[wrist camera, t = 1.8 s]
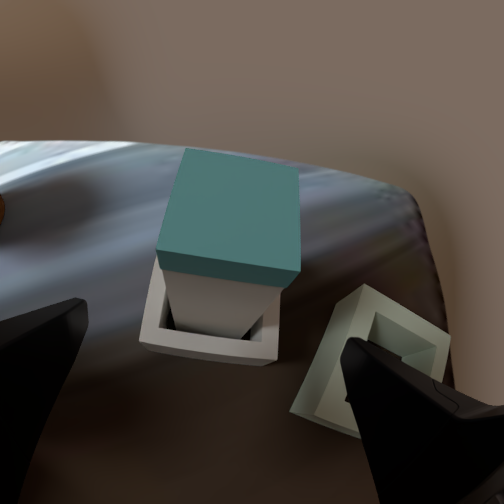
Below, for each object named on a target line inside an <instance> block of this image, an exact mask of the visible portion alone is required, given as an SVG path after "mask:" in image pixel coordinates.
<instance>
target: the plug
mask: <svg viewBox="0 0 504 504" xmlns="http://www.w3.org/2000/svg"><path fill="white" fill-rule="evenodd" d="M156 253H157V258H158V263H159V267H160V269H162V272H163V277H164V282H165V286H166V290H167V295H168V299H169V303H170V307H171V311H172V315H173V319H174V323H175V327H176V331H181V332H187V333H193V334H200V335H207V336H214V337H222V338H230V339H238V340H240V339H241V338H242V337H243V336H244V335H245V333H246V332H247V331H248V330H249V329H250V328H251V327H252V325H253V324H254V323H255V322H256V321H257V320H258V318H259V317H260V316H261V315H262V314H263V313H264V311H265V310H266V309H267V308H268V307H269V306H270V304H271V303H272V302H273V301H274V300H275V299H276V297H277V296H278V295H279V294H280V293H281V291H282V290H283V289H284V288H287V287H288V286H289V285H290V284H291V283H292V281H293V280H294V279H295V278H296V277H297V275H298V274H299V273H300V272H301V245H300V200H299V174H298V168H294V167H290V166H285V165H281V164H276V163H271V162H266V161H261V160H256V159H251V158H245V157H240V156H234V155H228V154H222V153H216V152H209V151H203V150H196V149H189V148H186V149H185V152H184V155H183V158H182V161H181V164H180V167H179V170H178V173H177V176H176V179H175V182H174V186H173V189H172V192H171V195H170V199H169V202H168V206H167V209H166V212H165V216H164V220H163V223H162V227H161V231H160V234H159V238H158V242H157V246H156Z"/></svg>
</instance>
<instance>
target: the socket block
mask: <svg viewBox="0 0 504 504" xmlns="http://www.w3.org/2000/svg"><path fill="white" fill-rule="evenodd" d="M349 337H360V338H362V339H363V340H365V341H367V339H368V340H370V341H372V342H374V343H376V344H378V345H380V346H382V347H384V348H386V349H387V350H389V351H391V352H393V353H395V354H397V355H399V356H401V357H402V360H401V361H402V362H404V363H406V364H408V365H410V366H411V367H413V368H415V369H417V370H419V371H420V372H422V373H424V374H426V375H428V376H429V377H431V378H432V379H435V380H437V381H439V382H441V383H442V380H443V376H444V371H445V366H446V362H447V356H448V351H449V345H450V340H451V336H450V335H448V334H447V333H445V332H444V331H442V330H440V329H439V328H437V327H436V326H434V325H432V324H431V323H429V322H428V321H426V320H424V319H423V318H421V317H419V316H418V315H416V314H414V313H413V312H411V311H410V310H408V309H406V308H405V307H403V306H401V305H400V304H398V303H396V302H395V301H393V300H391V299H390V298H388V297H386V296H385V295H383V294H381V293H379V292H378V291H376V290H374V289H373V288H371V287H369V286H368V285H366V284H363V285H362V286H360V287H359V288H357V289H356V290H355V291H353V292H352V293H351V294H349V295H348V296H346V297H345V298H344V299H342V300H341V301H339V302H338V303H336V305H335V308H334V311H333V313H332V316H331V318H330V321H329V323H328V326H327V328H326V331H325V333H324V336H323V338H322V341H321V343H320V345H319V348H318V350H317V352H316V355H315V357H314V359H313V362H312V364H311V366H310V368H309V371H308V373H307V375H306V377H305V379H304V382H303V384H302V386H301V388H300V390H299V392H298V394H297V396H296V398H295V401H294V403H293V405H292V407H291V409H290V411H289V412H291V413H294V414H296V415H298V416H301V417H303V418H306V419H308V420H311V421H313V422H316V423H318V424H321V425H323V426H326V427H329V428H331V429H334V430H337V431H339V432H342V433H345V434H348V435H351V436H354V437H357V438H360V439H361V436H360V433H359V430H358V427H357V424H356V421H355V417H354V414H353V411H352V408H351V405H350V403H348V402H345V401H344V400H345V398H346V396H347V392H346V387H345V382H344V378H343V373H342V369H341V364H340V356H341V353H342V351H343V348H344V346H345V344H346V341H347V339H348V338H349Z"/></svg>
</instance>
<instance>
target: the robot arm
mask: <svg viewBox="0 0 504 504" xmlns="http://www.w3.org/2000/svg"><path fill="white" fill-rule="evenodd" d="M88 323H89V321H88V309H87V302H86V301H85V300H84V299H80V298H72V299H69V300H66V301H62V302H59V303H56V304H53V305H50V306H47V307H43V308H40V309H37V310H34V311H31V312H28V313H25V314H21V315H18V316H15V317H12V318H9V319H6V320H3V321H0V504H17V503H18V499H19V496H20V492H21V489H22V486H23V483H24V479H25V476H26V473H27V470H28V468H29V465H30V461H31V459H32V456H33V453H34V450H35V448H36V445H37V443H38V440H39V438H40V435H41V433H42V430H43V428H44V425H45V423H46V421H47V418H48V416H49V414H50V412H51V409H52V407H53V405H54V403H55V400H56V398H57V396H58V394H59V392H60V390H61V388H62V386H63V384H64V382H65V379H66V377H67V375H68V373H69V371H70V369H71V368H72V365H73V363H74V361H75V359H76V356H77V354H78V351H79V348H80V346H81V343H82V341H83V338H84V336H85V333H86V331H87V328H88ZM340 364H341V369H342V373H343V378H344V382H345V387H346V392H347V396H348V399H349V402H350V405H351V408H352V411H353V414H354V417H355V421H356V424H357V427H358V430H359V433H360V436H361V439H362V443H363V446H364V449H365V452H366V456H367V459H368V462H369V466H370V469H371V472H372V476H373V479H374V483H375V486H376V490H377V493H378V494H379V495H378V498H379V501H380V504H504V405H502V406H492V405H487V404H485V403H483V402H480V401H478V400H476V399H473V398H471V397H469V396H467V395H465V394H463V393H460V392H458V391H456V390H454V389H452V388H450V387H448V386H446V385H444V384H442V383H441V382H439V381H437V380H435V379H432V378H431V377H429V376H428V375H426V374H424V373H422V372H420V371H419V370H417V369H415V368H413V367H411V366H410V365H408V364H406V363H404V362H402V361H401V360H399V359H397V358H395V357H393V356H392V355H390V354H388V353H386V352H385V351H383V350H381V349H379V348H378V347H376V346H374V345H372V344H370V343H369V342H367V341H365V340H363V339H362V338H360V337H349V338H348V339H347V341H346V344H345V346H344V348H343V351H342V353H341V356H340Z"/></svg>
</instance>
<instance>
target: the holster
mask: <svg viewBox="0 0 504 504" xmlns="http://www.w3.org/2000/svg"><path fill="white" fill-rule="evenodd" d="M169 311H170V303H169V299H168V295H167V290H166V286H165V282H164V277H163V272H162V269H160V267H159V263H158V258H157V256H156V260H155V264H154V268H153V273H152V277H151V282H150V286H149V291H148V296H147V301H146V306H145V311H144V316H143V321H142V327H141V332H140V338H139V342H140V343H141V344H142V345H143V346H144V347H146V348H147V349H148V350H149V351H153V352H158V353H163V354H169V355H175V356H181V357H187V358H194V359H201V360H208V361H216V362H224V363H233V364H243V365H254V366H264V365H266V364H269V363H271V362H274V361H276V360H277V357H278V337H279V316H280V294H279V295H278V296H277V297H276V299H275V300H274V301H273V302H272V303H271V304H270V306H269V307H268V308H267V309H266V310H265V311H264V313H263V314H262V315H261V316H260V317H259V318H258V320H257V321H256V322H255V323H254V324H253V325H252V327H251V332H250V341H247V340H238V339H230V338H222V337H214V336H207V335H200V334H193V333H187V332H181V331H175V330H169V329H167V323H168V317H169Z"/></svg>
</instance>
